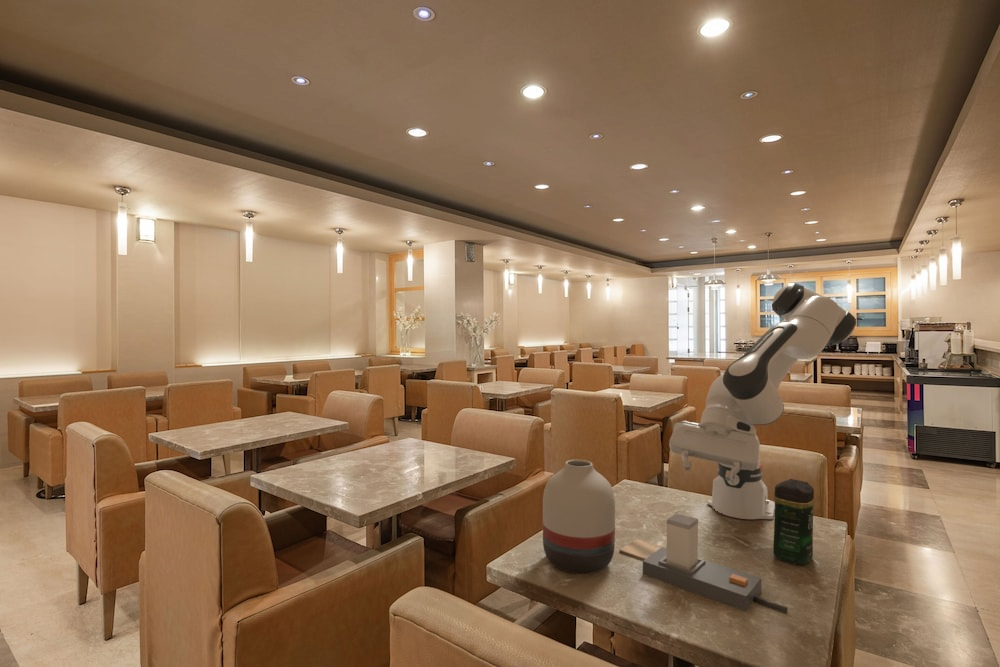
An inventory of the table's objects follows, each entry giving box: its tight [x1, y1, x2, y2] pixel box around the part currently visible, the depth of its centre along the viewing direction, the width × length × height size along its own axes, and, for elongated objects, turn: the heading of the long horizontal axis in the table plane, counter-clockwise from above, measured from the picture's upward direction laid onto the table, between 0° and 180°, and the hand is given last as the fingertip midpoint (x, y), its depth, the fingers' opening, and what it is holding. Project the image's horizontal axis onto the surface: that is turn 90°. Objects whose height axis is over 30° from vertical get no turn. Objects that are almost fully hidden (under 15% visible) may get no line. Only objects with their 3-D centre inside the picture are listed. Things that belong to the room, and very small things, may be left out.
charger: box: [666, 512, 699, 570], centre depth 113 cm, size 5×5×10 cm
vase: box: [542, 459, 616, 575], centre depth 120 cm, size 17×17×24 cm
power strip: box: [642, 546, 789, 613], centre depth 108 cm, size 10×28×4 cm, turn 47°
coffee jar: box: [772, 478, 815, 566], centre depth 123 cm, size 10×8×19 cm
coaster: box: [619, 538, 665, 561], centre depth 126 cm, size 9×9×1 cm
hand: (706, 474), depth 120 cm, fingers open, 8 cm apart
